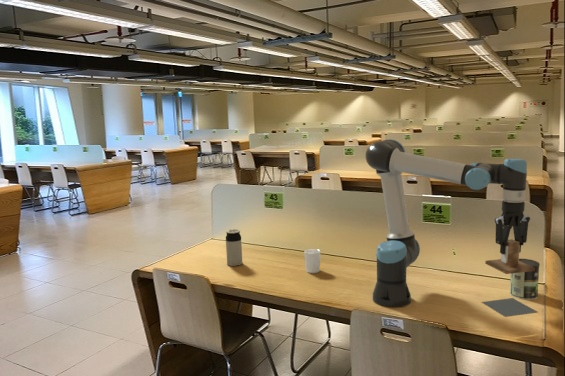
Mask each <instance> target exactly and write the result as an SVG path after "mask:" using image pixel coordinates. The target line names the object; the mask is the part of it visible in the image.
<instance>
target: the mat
mask: <svg viewBox="0 0 565 376" xmlns="http://www.w3.org/2000/svg"><path fill="white" fill-rule="evenodd" d="M481 303H482V304H484V306H487V308H488V307H489V308H490V309H492V310H493V311H495V312H496V313H498V314H500V315H501V316H503V317H505V318H507V317H513V316H514V317H515V316H523V315H527V314H536V313H538V311H537V310H535V309H534V308H531V307H530V306H528V305H527V304H525V303H522V302H520V301H519V300H517V299H515V298H514V297H511V298H510V297H508V298H502V299H494V300H487V301H481Z"/></svg>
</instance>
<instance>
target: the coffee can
mask: <svg viewBox="0 0 565 376" xmlns="http://www.w3.org/2000/svg"><path fill="white" fill-rule="evenodd" d="M519 261H521V262H523V263H525V264H527V265H530V266H532V267H534V268H535V271H531V272H521V273H512V274H510V279H509V280H510V283H509V285H510V286H509V287H510V288H509V294H510V295H511V296H512V297H513V298H516V299H521V300H527V301H529V300H536V299H537V298H538V297H539V294H538V293H539V279H540V278H539V274H540V262H538V261H536V260H533V259H529V258H519Z"/></svg>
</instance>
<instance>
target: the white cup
mask: <svg viewBox="0 0 565 376" xmlns="http://www.w3.org/2000/svg"><path fill="white" fill-rule="evenodd" d="M303 251H304V254H303V255H304V264H305V271H306V273H308V274H316V273H317V274H318V273H319V272H320V267H321V250H320V249H316V248H310V249H309V248H308V249H305V250H303Z"/></svg>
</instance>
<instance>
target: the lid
mask: <svg viewBox="0 0 565 376" xmlns="http://www.w3.org/2000/svg"><path fill="white" fill-rule="evenodd" d="M506 246H509V247H508V263H504V262H502V261H501V258H499V259H491V260H490V259H489V260H488V259H487V260H485V264H486V265H487V266H489V267H491V268H493V269H495V270H497V271H499V272H501V273H503V274H505V275H511V274H512V273H521V272H531V271H535V268H534V267H532V266H530V265H527V264H525V263H523V262H521V261H519V262H518V258H519V259H520V253H519V242H518V241H515V239H513V238H512V239H508V242H507V245H506Z"/></svg>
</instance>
